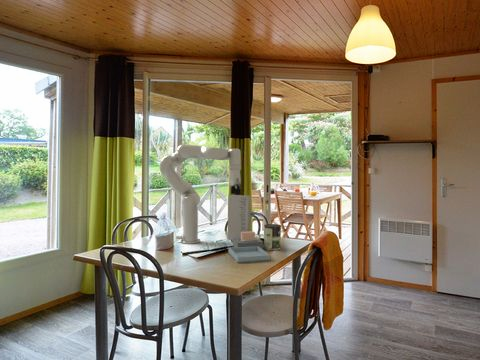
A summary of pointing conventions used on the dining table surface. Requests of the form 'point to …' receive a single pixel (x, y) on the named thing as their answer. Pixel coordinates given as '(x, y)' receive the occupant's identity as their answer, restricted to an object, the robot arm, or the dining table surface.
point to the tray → (248, 254)
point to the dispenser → (247, 242)
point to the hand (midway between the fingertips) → (235, 194)
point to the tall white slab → (238, 215)
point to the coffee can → (272, 236)
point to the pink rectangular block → (248, 235)
